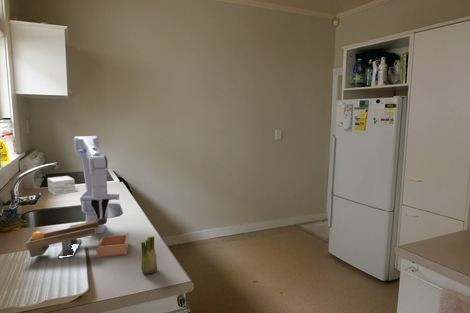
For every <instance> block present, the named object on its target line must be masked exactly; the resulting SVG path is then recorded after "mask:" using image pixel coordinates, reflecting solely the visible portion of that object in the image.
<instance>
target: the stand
mask: <svg viewBox="0 0 470 313" xmlns="http://www.w3.org/2000/svg"><path fill="white" fill-rule="evenodd" d="M82 240H83V239H82V238H78V239H74V240H69V241H65V242H61V251H60V252H59V254H58V256H67V255H73V253H74V251H73V249H71V248H72V246H71V245H73V244H80V245H81V244H82ZM58 256H57V257H58Z"/></svg>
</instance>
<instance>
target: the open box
mask: <svg viewBox="0 0 470 313" xmlns="http://www.w3.org/2000/svg"><path fill="white" fill-rule="evenodd" d="M129 245H130V244H129V232H126V234H119V235H117V234H116V235H105V236H102V237H101V238H100V240H99V242H98V245H97V247H96V253H97V254H96V256H97V258H98V259H100V258H106V257H115V256H116V257H117V256H122V255H123V256H127V253H128V249H129Z"/></svg>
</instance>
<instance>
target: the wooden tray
mask: <svg viewBox="0 0 470 313" xmlns="http://www.w3.org/2000/svg"><path fill="white" fill-rule="evenodd" d="M107 222H108V218H107V216H105V218H99V219H96V220H95V221H91V222H86V221H85V222H82V223H78V224H74V225H70V226H69V227H67V228H63V229H58V230H54V231H53V230H52V231H48V232H43V234H44V238H43V239H39V240H34V241H32V238H31V237H30V238H29V239H28V240H27V241H26V242H24V243H25V248H26V250H28V251H29V256H30V258H34V257H38V256H43V255H45V253H46V251H47V250H48V249H49V248H50V246H51V245H55V244H59V243H62V242H65V241H69V240H74V239H77V240H78V239H82V238H88V237H90V236H91V237H92V236H95V235H97V234H98V233H97V231H98V229H99V227H98V225H102V224H104V225H107Z"/></svg>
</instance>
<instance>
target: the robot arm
mask: <svg viewBox="0 0 470 313" xmlns="http://www.w3.org/2000/svg"><path fill="white" fill-rule="evenodd" d="M99 142H100V141H99V137H98V135H87V136H86V135H85V136H80V135H79V136H74V137H73V145H74V147H73V148H74V152H75V156H76V157H78V158H80V160H81V162H82V170H83V175H84V183H85V190H86V191H85V192H84V193H83V194H81V195H80V198H79V201H80V208H81V212H82V213H84V214H85V223H86V222H91V221H95V220H96V219H99V218H105V217H106V211H107V209H108V208H107V207H108V205H109V202H110V201H113V200H114V201H115V200H117V201H119V200H120V193H119V194H117V193H112V194H111V193H110V194H109V193H108V179H107V178H108V177H107V176H108V175H107V169H108V164H109V163H108V158H107V157H108V156H107V155H106V154H102V151H101V149H100V148H99V146H100V143H99ZM98 227H99V229H98V231H97V233H96V234H103V233H105V230H106V228H107V224H102V225H98Z"/></svg>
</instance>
